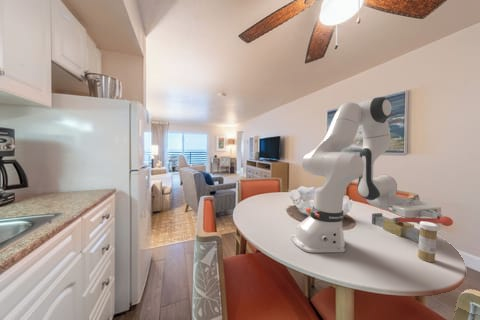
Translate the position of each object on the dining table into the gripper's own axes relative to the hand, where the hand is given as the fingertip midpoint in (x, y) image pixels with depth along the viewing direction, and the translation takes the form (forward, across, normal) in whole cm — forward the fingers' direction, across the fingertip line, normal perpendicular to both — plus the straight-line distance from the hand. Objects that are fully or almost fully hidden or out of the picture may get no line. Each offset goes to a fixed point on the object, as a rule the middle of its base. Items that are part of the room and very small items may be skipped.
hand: (439, 216), depth 71 cm
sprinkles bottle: (+4, -13, +14) cm, 19 cm away
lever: (-15, 0, +7) cm, 16 cm away
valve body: (-15, 0, +13) cm, 20 cm away
